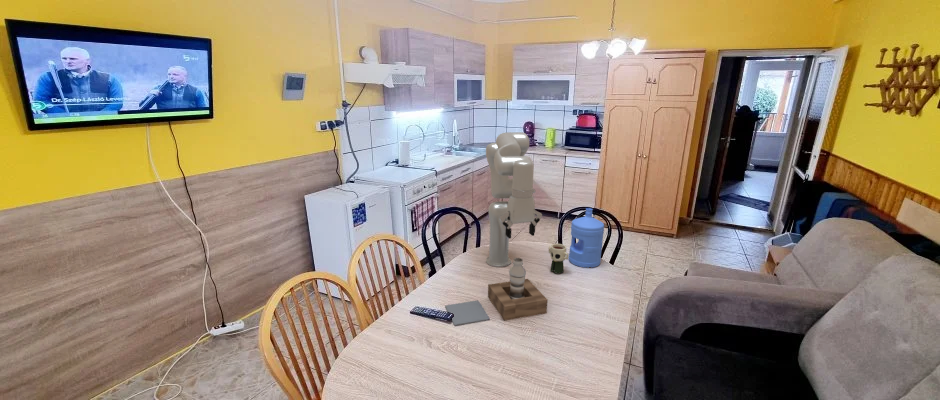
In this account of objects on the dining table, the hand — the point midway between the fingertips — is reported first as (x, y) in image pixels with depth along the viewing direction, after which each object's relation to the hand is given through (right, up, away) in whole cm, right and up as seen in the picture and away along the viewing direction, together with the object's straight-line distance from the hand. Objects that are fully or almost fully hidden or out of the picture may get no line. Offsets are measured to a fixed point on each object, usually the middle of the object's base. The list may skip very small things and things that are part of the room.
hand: (520, 235), depth 154 cm
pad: (-21, -30, +2) cm, 37 cm away
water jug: (+39, -18, +49) cm, 65 cm away
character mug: (+22, -21, +38) cm, 49 cm away
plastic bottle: (0, -29, +9) cm, 30 cm away
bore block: (0, -29, +9) cm, 30 cm away
